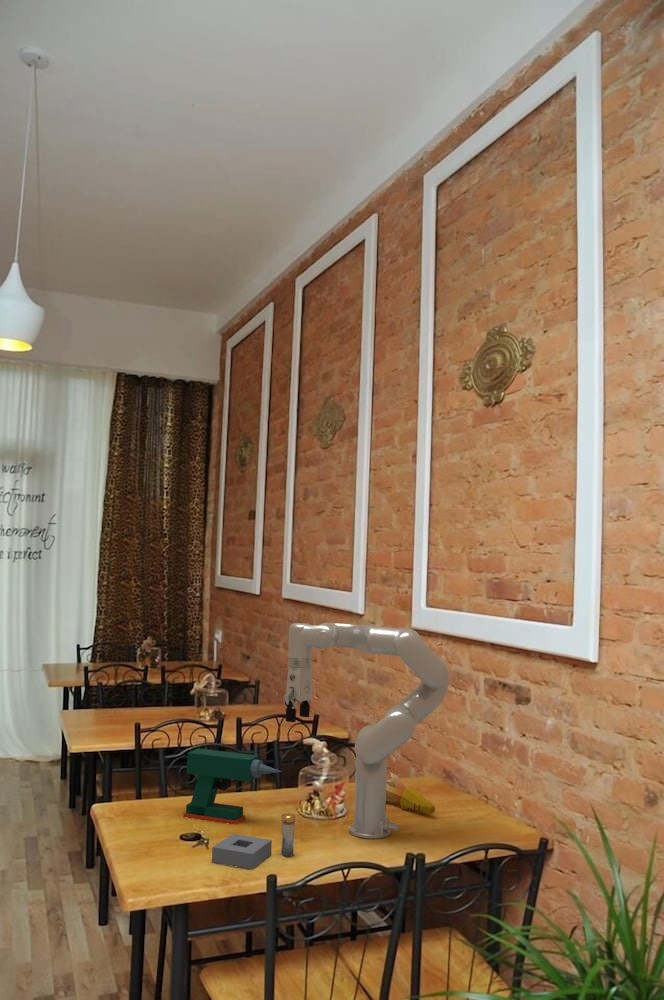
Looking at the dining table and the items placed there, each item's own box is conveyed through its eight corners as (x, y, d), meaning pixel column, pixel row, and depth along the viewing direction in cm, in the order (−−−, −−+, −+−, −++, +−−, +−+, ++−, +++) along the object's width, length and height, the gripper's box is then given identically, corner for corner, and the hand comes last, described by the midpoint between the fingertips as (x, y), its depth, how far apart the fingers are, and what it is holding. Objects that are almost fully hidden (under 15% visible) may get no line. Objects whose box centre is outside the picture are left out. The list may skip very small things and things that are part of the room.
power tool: (285, 824, 248) (287, 758, 249) (276, 831, 241) (278, 763, 243) (194, 811, 258) (196, 748, 260) (183, 817, 252) (186, 752, 253)
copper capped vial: (296, 853, 223) (297, 814, 223) (290, 858, 219) (292, 818, 220) (283, 851, 224) (285, 812, 225) (278, 855, 220) (279, 816, 221)
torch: (429, 831, 257) (379, 801, 277) (446, 815, 261) (395, 787, 281) (423, 810, 254) (373, 782, 274) (440, 795, 259) (389, 768, 279)
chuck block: (271, 854, 221) (271, 839, 221) (252, 869, 210) (252, 853, 210) (232, 848, 225) (233, 833, 226) (211, 862, 214) (212, 847, 214)
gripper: (298, 667, 239) (296, 725, 238) (322, 661, 255) (320, 716, 254) (276, 665, 242) (273, 722, 241) (300, 659, 258) (298, 713, 257)
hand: (297, 719), depth 247 cm, fingers open, 9 cm apart
